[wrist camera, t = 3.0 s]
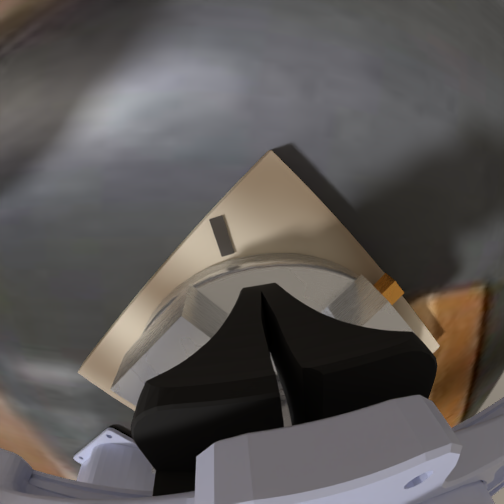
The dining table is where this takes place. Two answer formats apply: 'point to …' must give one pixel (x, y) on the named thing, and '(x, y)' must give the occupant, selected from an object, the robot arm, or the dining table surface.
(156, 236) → the dining table surface
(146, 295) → the nut base
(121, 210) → the dining table surface
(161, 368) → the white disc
